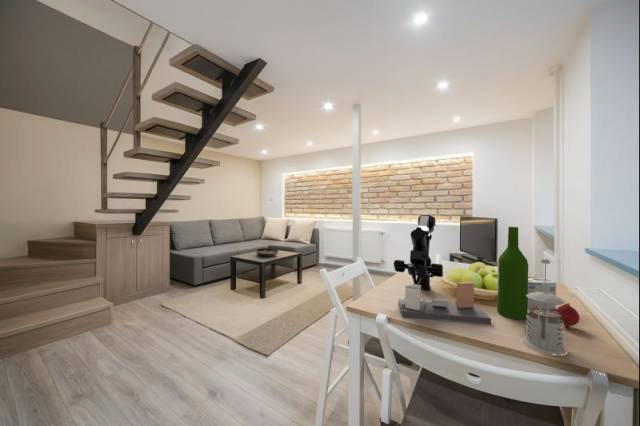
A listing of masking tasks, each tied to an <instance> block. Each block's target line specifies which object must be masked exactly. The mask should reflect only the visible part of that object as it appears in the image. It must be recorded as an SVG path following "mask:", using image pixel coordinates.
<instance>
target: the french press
mask: <svg viewBox="0 0 640 426" xmlns="http://www.w3.org/2000/svg"><path fill="white" fill-rule="evenodd" d="M540 263H541V264H544V279H545V290H544V292H532V293H529V294H527V295H526V296H527V298H529V299H530V300H533V301H536V302H539V303H544V309H543V308H540V306H539V308H537V307H531V308H528V313H527V319H525V321H526V328H525V330H526V332H525V335H526V336H525V337H523V338H521V341H523V342H522V343H523V344H524V345H525V346H526V347H528V348H529V349H532V350H534V351H537V352H538V353H541V354H544V355H545V354H546V355H549V354H556V355H561V354H565V353H566V350H567V349H566V347H564V342H562V341H564V338H563V337H564V331H565V330H564V327H565V326H564V322H563V321H562V320H561V319H560V318H561V317H562V316H561V315H560V314H559V313H557V312H555V311H556V310H555V311H554V310H553V309H548V308H547V309H545V304H550V305H556V306H557V305H558V306H562V305H564V304H565V300H563V299H562V298H560V297H559V296H557V295H556V296H555V295H552V294H550V293H546V278H547V277H546V276H547V265H549V264H550V263H551V261H550V259H547V258H543V259H541V261H540ZM562 332H563V333H562ZM565 349H566V350H565Z"/></svg>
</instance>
